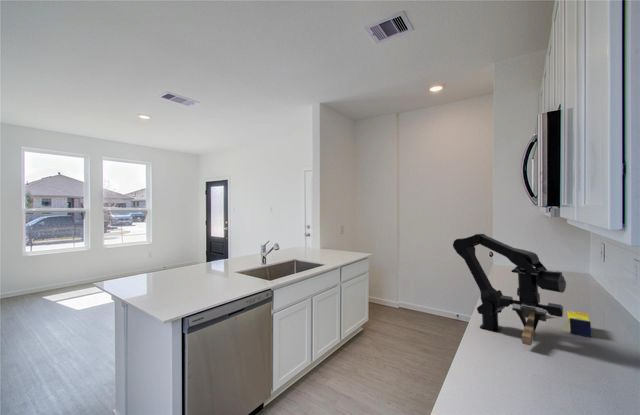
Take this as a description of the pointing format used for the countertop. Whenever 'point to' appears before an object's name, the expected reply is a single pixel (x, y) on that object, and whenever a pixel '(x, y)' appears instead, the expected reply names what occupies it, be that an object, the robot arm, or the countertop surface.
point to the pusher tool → (529, 326)
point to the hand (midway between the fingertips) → (530, 328)
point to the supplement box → (579, 323)
